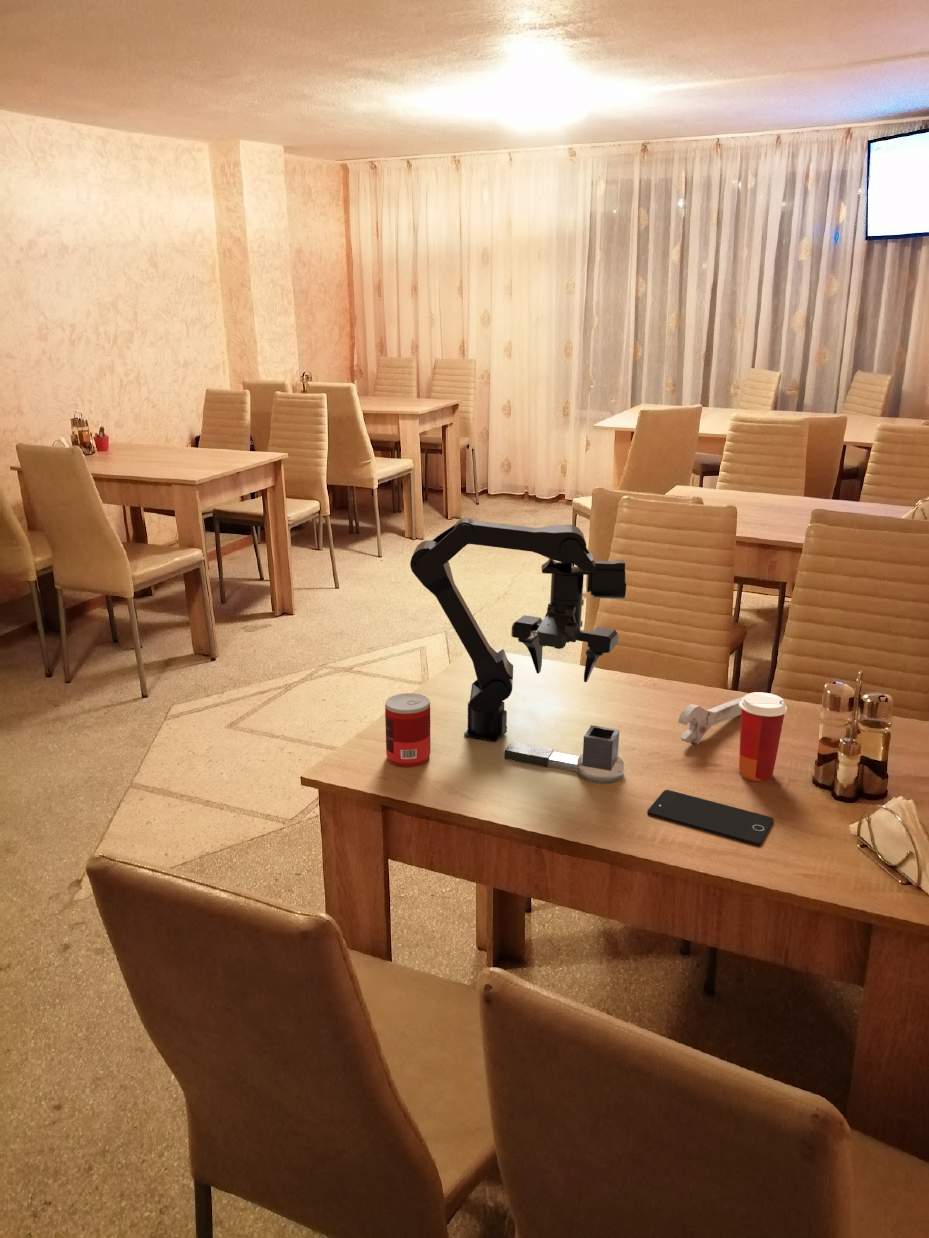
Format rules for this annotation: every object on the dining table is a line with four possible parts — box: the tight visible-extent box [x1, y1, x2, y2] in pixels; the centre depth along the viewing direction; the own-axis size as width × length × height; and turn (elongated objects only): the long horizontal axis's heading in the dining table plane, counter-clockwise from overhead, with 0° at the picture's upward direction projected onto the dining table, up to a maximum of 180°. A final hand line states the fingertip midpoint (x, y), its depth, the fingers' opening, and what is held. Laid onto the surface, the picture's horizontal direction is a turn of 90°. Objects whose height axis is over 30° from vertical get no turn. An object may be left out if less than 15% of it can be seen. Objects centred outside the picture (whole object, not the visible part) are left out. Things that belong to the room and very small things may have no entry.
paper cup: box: [738, 691, 788, 782], centre depth 162 cm, size 8×8×14 cm
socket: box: [582, 724, 620, 771], centre depth 162 cm, size 5×5×6 cm
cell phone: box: [646, 789, 774, 847], centre depth 150 cm, size 9×18×1 cm, turn 59°
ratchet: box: [503, 741, 625, 784], centre depth 166 cm, size 21×8×5 cm, turn 68°
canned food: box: [384, 692, 431, 768], centre depth 167 cm, size 8×8×11 cm
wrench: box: [677, 695, 745, 745], centre depth 181 cm, size 8×2×30 cm
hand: (561, 677), depth 174 cm, fingers open, 9 cm apart
